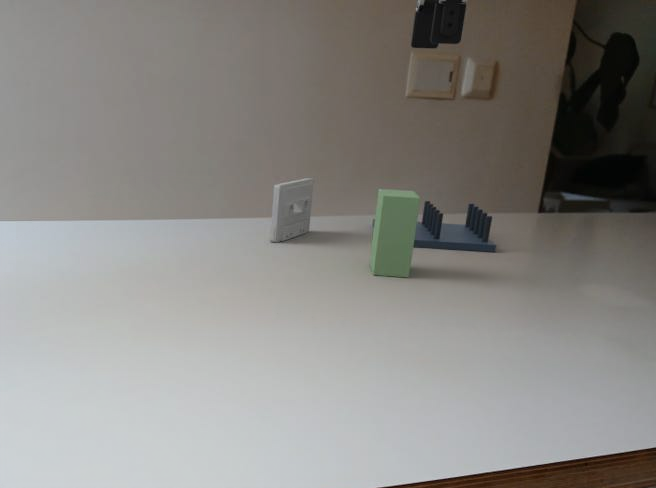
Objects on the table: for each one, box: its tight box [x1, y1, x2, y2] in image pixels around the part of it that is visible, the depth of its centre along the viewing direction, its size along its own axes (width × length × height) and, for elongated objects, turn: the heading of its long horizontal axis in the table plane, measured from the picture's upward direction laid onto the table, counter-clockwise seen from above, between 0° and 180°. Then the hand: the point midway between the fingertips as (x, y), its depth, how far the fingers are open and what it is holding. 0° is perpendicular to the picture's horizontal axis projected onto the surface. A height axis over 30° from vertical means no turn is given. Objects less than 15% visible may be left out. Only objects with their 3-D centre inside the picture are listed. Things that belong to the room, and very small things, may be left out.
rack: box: [372, 200, 497, 253], centre depth 107 cm, size 15×16×4 cm
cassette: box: [269, 177, 315, 243], centre depth 104 cm, size 12×2×8 cm, turn 148°
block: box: [369, 188, 421, 278], centre depth 86 cm, size 4×6×9 cm, turn 170°
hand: (434, 45), depth 87 cm, fingers open, 9 cm apart
